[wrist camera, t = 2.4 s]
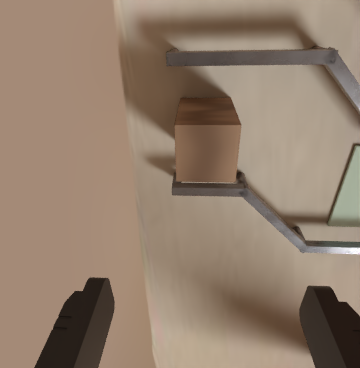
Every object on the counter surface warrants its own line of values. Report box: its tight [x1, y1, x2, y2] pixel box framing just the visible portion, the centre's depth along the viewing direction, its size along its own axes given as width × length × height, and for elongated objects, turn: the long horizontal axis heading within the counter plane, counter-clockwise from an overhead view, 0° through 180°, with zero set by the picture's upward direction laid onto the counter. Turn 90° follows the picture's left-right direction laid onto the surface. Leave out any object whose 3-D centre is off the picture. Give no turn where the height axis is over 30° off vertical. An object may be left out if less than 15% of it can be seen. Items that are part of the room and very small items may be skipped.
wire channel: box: [166, 46, 360, 254], centre depth 28 cm, size 32×22×4 cm
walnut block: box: [175, 98, 241, 182], centre depth 25 cm, size 5×5×8 cm
